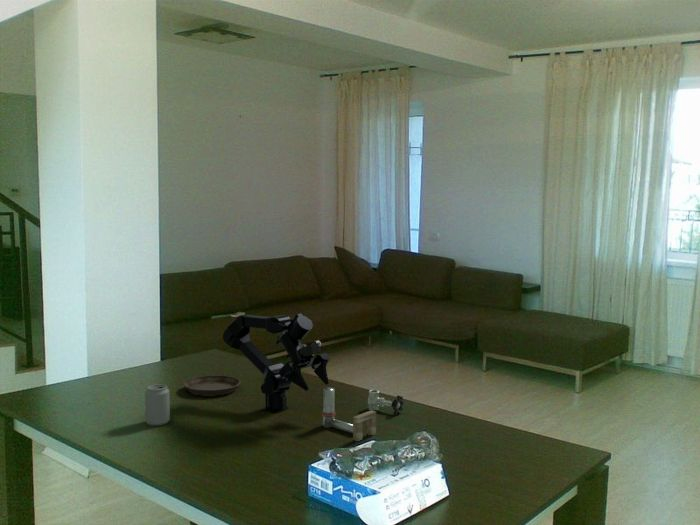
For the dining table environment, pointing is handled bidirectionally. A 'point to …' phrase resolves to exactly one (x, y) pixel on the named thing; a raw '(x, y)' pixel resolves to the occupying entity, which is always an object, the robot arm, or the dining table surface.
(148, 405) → the can
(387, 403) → the valve
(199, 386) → the plant saucer
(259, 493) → the dining table surface
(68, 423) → the dining table surface
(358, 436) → the beige arch block
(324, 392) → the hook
